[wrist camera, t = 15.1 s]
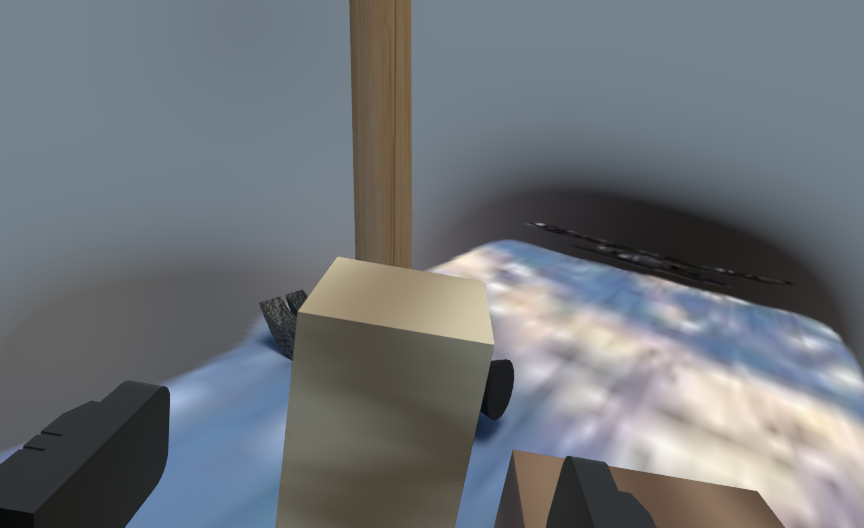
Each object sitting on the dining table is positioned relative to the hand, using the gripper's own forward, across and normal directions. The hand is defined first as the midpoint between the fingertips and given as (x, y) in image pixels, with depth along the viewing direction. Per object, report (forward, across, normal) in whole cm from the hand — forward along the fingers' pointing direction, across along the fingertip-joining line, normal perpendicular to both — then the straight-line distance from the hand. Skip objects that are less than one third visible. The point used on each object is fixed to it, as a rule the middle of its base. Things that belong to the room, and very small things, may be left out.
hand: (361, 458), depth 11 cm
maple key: (+3, 0, +13) cm, 14 cm away
